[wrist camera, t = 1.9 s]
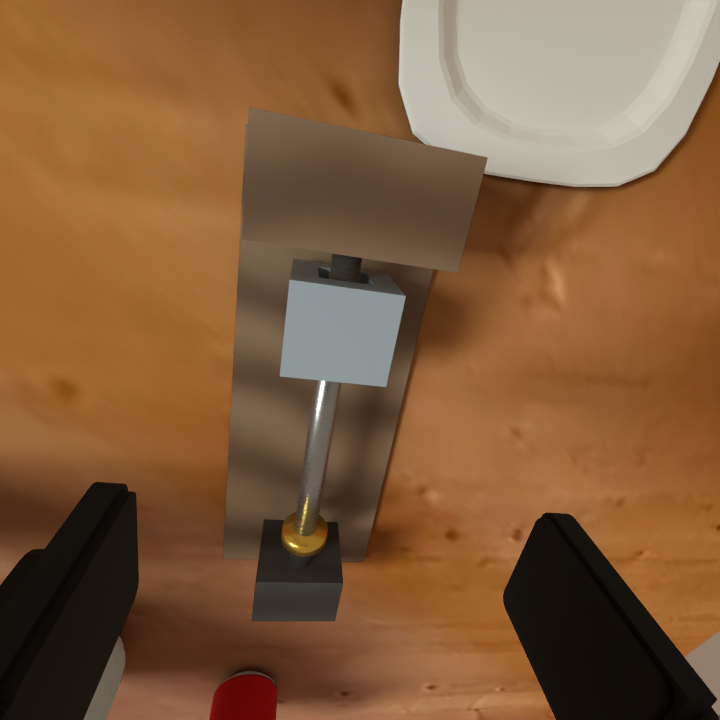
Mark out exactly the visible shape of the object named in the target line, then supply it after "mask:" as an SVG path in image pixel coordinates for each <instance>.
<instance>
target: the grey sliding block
mask: <svg viewBox="0 0 720 720" xmlns="http://www.w3.org/2000/svg"><path fill="white" fill-rule="evenodd" d="M330 267H331V264H327V263H320V262H314V261H307V260H300V259H293V264H292V269H291V275H290V280H289V290H288V300H287V310H286V319H285V329H284V339H283V348H282V358H281V368H280V376H281V377H291V378H301V379H311V380H321V381H331V382H341V383H351V384H361V385H371V386H381V387H386V385H387V380H388V376H389V371H390V367H391V362H392V357H393V353H394V348H395V344H396V339H397V334H398V330H399V325H400V321H401V316H402V312H403V307H404V302H405V298H406V296H405V294H404V293H403V292H402V291H401V290H400V289H399V287H398V286H397V285H396V284H395V283H394V281H393V280H392V279H391V278H390V277H389V275H388V274H387V273H386V272H380V271H374V270H367V269H361V270H360V276H359V282H358V283H354V282H348V281H341V280H334V279H329V274H330Z"/></svg>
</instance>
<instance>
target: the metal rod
mask: <svg viewBox="0 0 720 720" xmlns="http://www.w3.org/2000/svg"><path fill="white" fill-rule="evenodd" d="M361 264H362V258H358V257H352V256H346V255H339V254H333V253H332V260H331V267H330V274H329V279H334V280H341V281H348V282H354V283H358V282H359V276H360V270H361ZM340 388H341V382H331V381H321V380H315V381H314V388H313V395H312V402H311V409H310V417H309V424H308V431H307V438H306V445H305V452H304V459H303V466H302V474H301V481H300V488H299V495H298V502H297V509H296V512H294V513H292V514H290V515H289V516H288V517H287V518H286V519H285V520H284V522H283V527H282V535H281V541H282V544H283V546H284V548H285V549H286V550H287V551H288V552H290V562H291V563H292V564H293V565H294V566H296V567H300V568H302V567H306V566H308V565H309V564H310V562H311V560H312V556H313V555H315V554H317V553H319V552H320V551H321V550H322V549H323V548H324V546H325V543H326V538H327V532H328V526H327V523H326V521H325V520H324V518H323V517H321V516H320V515H319V512H320V506H321V500H322V494H323V489H324V483H325V477H326V471H327V465H328V459H329V453H330V447H331V441H332V435H333V429H334V423H335V418H336V412H337V406H338V400H339V394H340Z"/></svg>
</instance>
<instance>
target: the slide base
mask: <svg viewBox="0 0 720 720" xmlns="http://www.w3.org/2000/svg"><path fill="white" fill-rule="evenodd" d="M487 159H488V157H483V156H478V155H474V154H469V153H464V152H459V151H455V150H450V149H445V148H440V147H436V146H431V145H426V144H421V143H417V142H412V141H407V140H402V139H398V138H393V137H388V136H383V135H379V134H374V133H369V132H364V131H360V130H355V129H350V128H345V127H341V126H336V125H331V124H326V123H321V122H317V121H312V120H307V119H302V118H298V117H293V116H288V115H283V114H279V113H274V112H269V111H264V110H260V109H255V108H250V107H249V116H248V124H246V137H245V156H244V175H243V193H242V212H241V231H240V249H239V268H238V287H237V306H236V324H235V343H234V362H233V380H232V399H231V418H230V437H229V455H228V474H227V493H226V512H225V530H224V549H223V559H252V560H259V561H258V568H257V576H256V584H255V594H254V604H253V614H252V621H335V618H336V614H337V609H338V604H339V600H340V595H341V591H342V586H343V576H342V565H341V562H364V560H365V555H366V551H367V547H368V543H369V539H370V534H371V530H372V526H373V522H374V518H375V513H376V509H377V505H378V501H379V497H380V492H381V488H382V484H383V480H384V476H385V471H386V467H387V463H388V459H389V455H390V450H391V446H392V442H393V438H394V434H395V429H396V425H397V421H398V417H399V413H400V408H401V404H402V400H403V396H404V392H405V388H406V383H407V379H408V375H409V371H410V367H411V362H412V358H413V354H414V350H415V346H416V341H417V337H418V333H419V329H420V325H421V320H422V316H423V312H424V308H425V304H426V299H427V295H428V291H429V287H430V283H431V278H432V274H433V270H434V269H436V270H442V271H449V272H455V273H458V270H459V266H460V262H461V258H462V255H463V251H464V247H465V243H466V239H467V235H468V232H469V228H470V224H471V220H472V216H473V213H474V209H475V205H476V201H477V197H478V193H479V190H480V186H481V182H482V178H483V174H484V171H485V167H486V163H487ZM332 253H333V254H339V255H346V256H352V257H358V258H362V264H361V269H367V270H374V271H380V272H386V273H387V274H388V275H389V277H390V278H391V279H392V280H393V281H394V283H395V284H396V285H397V286H398V287H399V289H400V290H401V291H402V292H403V293H404V294H405V296H406V298H405V302H404V307H403V312H402V316H401V321H400V325H399V330H398V334H397V339H396V344H395V348H394V353H393V357H392V362H391V367H390V371H389V376H388V380H387V385H386V387H381V386H371V385H361V384H351V383H341V388H340V394H339V400H338V406H337V412H336V418H335V423H334V429H333V435H332V441H331V447H330V453H329V459H328V465H327V471H326V477H325V483H324V489H323V494H322V500H321V506H320V512H319V515H320V516H321V517H323V518H324V520H325V521H326V523H327V526H328V532H327V538H326V543H325V546H324V548H323V549H322V550H321V551H320V552H319V553H317V554H315V555H313V556H312V560H311V562H310V564H309V565H308V566H306V567H302V568H300V567H296V566H294V565H293V564H292V563H291V562H290V552H288V551H287V550H286V549H285V548H284V546H283V544H282V541H281V535H282V527H283V522H284V520H285V519H286V518H287V517H288V516H289V515H290V514H292V513H294V512H296V509H297V502H298V495H299V488H300V481H301V474H302V466H303V459H304V452H305V445H306V438H307V431H308V424H309V417H310V409H311V402H312V395H313V388H314V381H315V380H311V379H301V378H291V377H281V376H280V368H281V358H282V348H283V339H284V329H285V319H286V310H287V300H288V290H289V280H290V275H291V269H292V264H293V259H300V260H307V261H314V262H320V263H327V264H331V260H332Z"/></svg>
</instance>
